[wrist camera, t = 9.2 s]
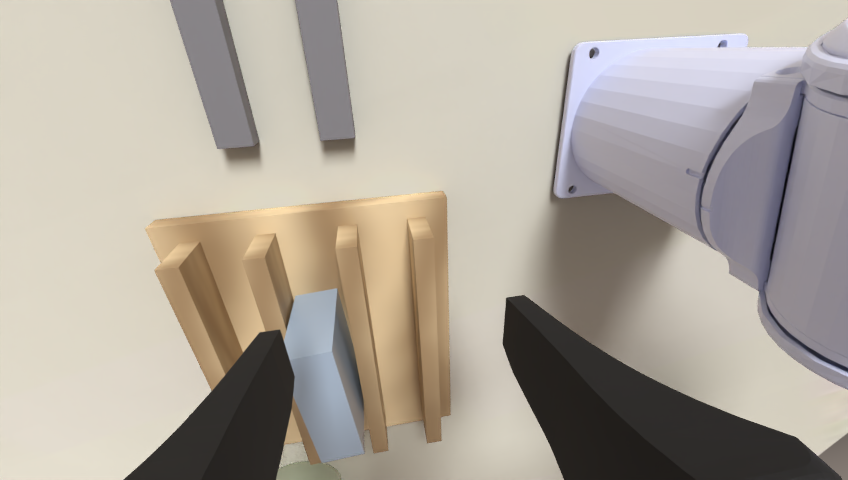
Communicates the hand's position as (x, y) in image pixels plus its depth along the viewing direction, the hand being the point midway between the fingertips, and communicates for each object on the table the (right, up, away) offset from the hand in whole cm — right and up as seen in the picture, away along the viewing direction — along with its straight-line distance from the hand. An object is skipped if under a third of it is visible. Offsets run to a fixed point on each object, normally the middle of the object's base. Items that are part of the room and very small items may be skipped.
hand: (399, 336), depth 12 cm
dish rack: (-5, -3, +12) cm, 13 cm away
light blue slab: (-5, -3, +11) cm, 13 cm away
